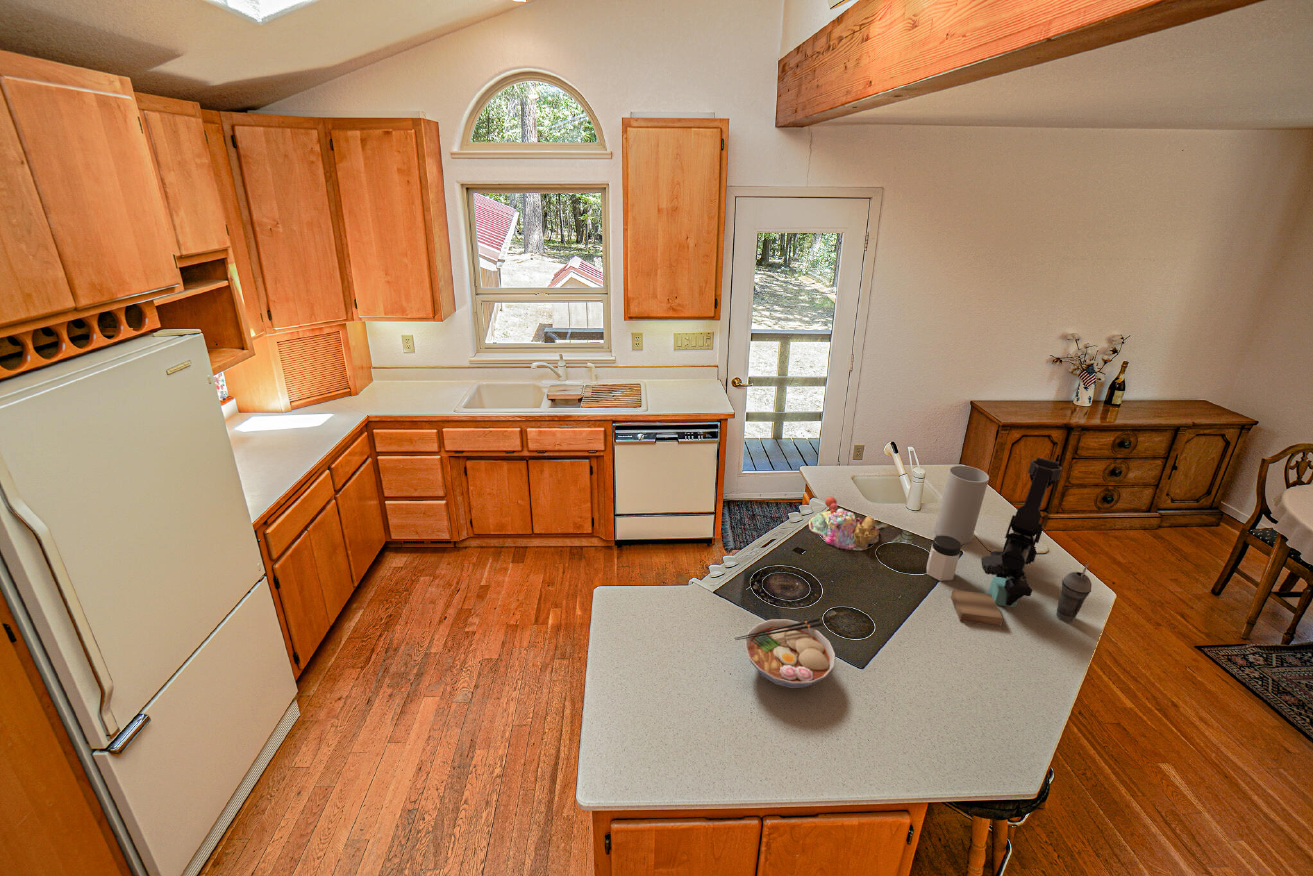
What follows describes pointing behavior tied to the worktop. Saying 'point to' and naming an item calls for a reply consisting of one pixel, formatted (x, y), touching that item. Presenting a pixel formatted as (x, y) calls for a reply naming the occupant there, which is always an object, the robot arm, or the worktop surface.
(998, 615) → the walnut base
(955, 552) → the jar
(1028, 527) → the robot arm
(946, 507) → the cylinder vase
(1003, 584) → the teal block
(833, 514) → the pastel sphere sculpture
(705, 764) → the worktop surface
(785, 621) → the ramen bowl
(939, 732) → the worktop surface
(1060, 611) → the beverage cup
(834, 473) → the worktop surface
